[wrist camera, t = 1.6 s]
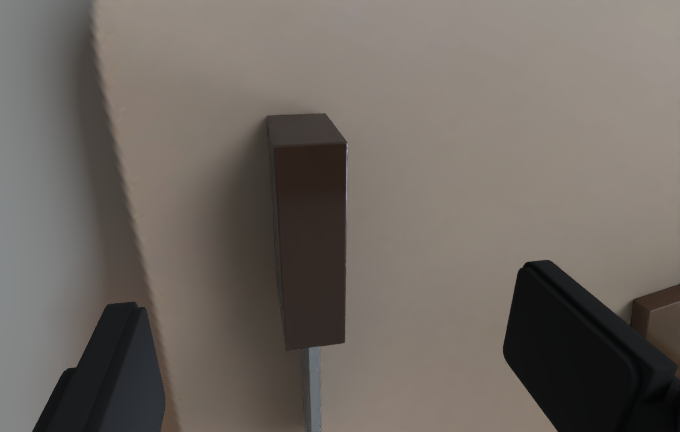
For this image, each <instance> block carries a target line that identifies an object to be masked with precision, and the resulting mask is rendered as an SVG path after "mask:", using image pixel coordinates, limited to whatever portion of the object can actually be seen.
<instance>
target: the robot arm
mask: <svg viewBox="0 0 680 432" xmlns="http://www.w3.org/2000/svg"><path fill="white" fill-rule="evenodd" d="M503 354H504V358H505V360H506V362H507V363H508V365H509V366H510V367H511V369H512V370H513V371H514V373H515V374H516V375H517V377H518V378H519V380H520V381H521V382H522V384H523V385H524V386H525V388H526V389H527V390H528V392H529V393H530V394H531V396H532V397H533V399H534V400H535V401H536V403H537V404H538V405H539V407H540V408H541V409H542V411H543V412H544V413H545V415H546V416H547V418H548V419H549V420H550V422H551V423H552V424H553V426H554V427H555V428H556V430H557V431H558V432H680V379H679V378H677V377H676V376H675V373H676V371H677V368H678V365H677V364H676V363H674V362H673V361H672V360H671V359H670V358H668V357H667V356H666V355H665V354H663V353H662V352H661V351H660V350H659V349H657V348H656V347H655V346H654V345H653V344H651V343H650V342H649V341H648V340H646V339H645V338H644V337H643V336H642V335H640V334H639V333H638V332H637V331H636V330H634V329H633V328H632V327H631V326H629V325H628V324H627V323H626V322H625V321H623V320H622V319H621V318H620V317H619V316H617V315H616V314H615V313H614V312H612V311H611V310H610V309H609V308H608V307H606V306H605V305H604V304H603V303H602V302H600V301H599V300H598V299H597V298H595V297H594V296H593V295H592V294H591V293H589V292H588V291H587V290H586V289H585V288H583V287H582V286H581V285H580V284H578V283H577V282H576V281H575V280H574V279H572V278H571V277H570V276H569V275H568V274H566V273H565V272H564V271H563V270H561V269H560V268H559V267H558V266H557V265H555V264H554V263H553V262H551V261H550V260H542V261H532V262H527V263H525V264H524V266H523V268H521V269H520V270H519V271H518V274H517V279H516V284H515V289H514V294H513V299H512V304H511V309H510V314H509V320H508V325H507V330H506V335H505V340H504V345H503ZM164 411H165V393H164V388H163V383H162V379H161V374H160V370H159V365H158V360H157V356H156V351H155V347H154V342H153V338H152V333H151V328H150V324H149V319H148V314H147V311H146V308H145V307H139V308H138V306H137V304H136V303H135V302H126V303H116V304H108V305H107V306H106V308H105V309H104V311H103V314H102V316H101V318H100V320H99V322H98V324H97V326H96V328H95V330H94V332H93V334H92V336H91V339H90V340H89V343H88V345H87V347H86V349H85V351H84V353H83V355H82V357H81V359H80V361H79V363H78V365H77V367H76V368H68V369H67V370H66V371H64V372H63V374H62V375H61V377H60V379H59V381H58V383H57V385H56V386H55V388H54V391H53V392H52V394H51V396H50V398H49V400H48V402H47V404H46V406H45V408H44V410H43V412H42V414H41V416H40V418H39V420H38V422H37V423H36V425H35V427H34V429H33V431H32V432H160V430H161V425H162V420H163V416H164Z"/></svg>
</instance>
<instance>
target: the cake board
mask: <svg viewBox="0 0 680 432" xmlns="http://www.w3.org/2000/svg"><path fill="white" fill-rule="evenodd" d="M631 327H632V328H633V329H634V330H636V331H637V332H638V333H639V334H640V335H642V336H643V337H644V338H645V339H646V340H648V341H649V342H650V343H651V344H653V345H654V346H655V347H656V348H657V349H659V350H660V351H661V352H662V353H663V354H665V355H666V356H667V357H668V358H670V359H671V360H672V361H673V362H674V363H676V364H677V365H678V368H677V371H676V373H675V376H676V377H677V378H679V379H680V285H677V286H674V287H671V288H668V289H665V290H662V291H659V292H656V293H653V294H650V295H646V296H643V297H640V298H637V299H634V304H633V312H632V320H631Z"/></svg>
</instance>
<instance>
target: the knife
mask: <svg viewBox="0 0 680 432" xmlns="http://www.w3.org/2000/svg"><path fill="white" fill-rule="evenodd" d="M267 132H268V147H269V162H270V177H271V192H272V208H273V223H274V238H275V253H276V269H277V284H278V295H279V302H280V310H281V318H282V325H283V333H284V340H285V348H286V351H290V350H297V349H301V367H302V391H303V415H304V431H305V432H321V382H320V346H327V345H334V344H341V343H345V302H346V232H347V161H348V143H347V141H346V140H345V138H344V137H343V136H342V135H341V133H340V132H339V131H338V129H337V128H336V127H335V125H334V124H333V123H332V121H331V120H330V119H329V117H328V116H327V115H326V114H325V113H323V114H298V115H272V116H267Z"/></svg>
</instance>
